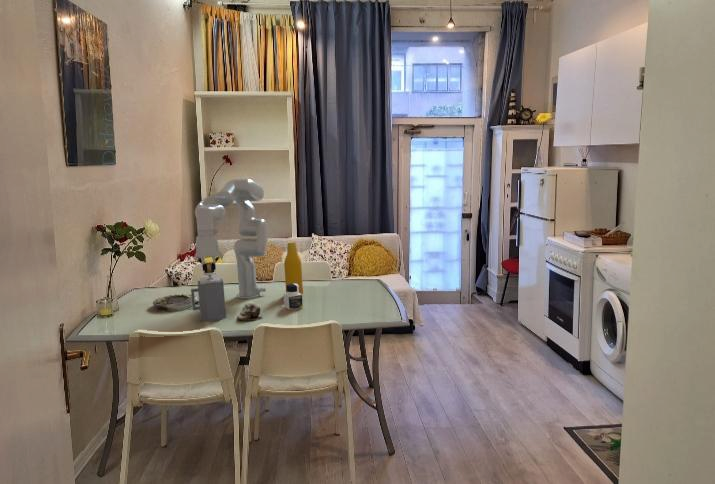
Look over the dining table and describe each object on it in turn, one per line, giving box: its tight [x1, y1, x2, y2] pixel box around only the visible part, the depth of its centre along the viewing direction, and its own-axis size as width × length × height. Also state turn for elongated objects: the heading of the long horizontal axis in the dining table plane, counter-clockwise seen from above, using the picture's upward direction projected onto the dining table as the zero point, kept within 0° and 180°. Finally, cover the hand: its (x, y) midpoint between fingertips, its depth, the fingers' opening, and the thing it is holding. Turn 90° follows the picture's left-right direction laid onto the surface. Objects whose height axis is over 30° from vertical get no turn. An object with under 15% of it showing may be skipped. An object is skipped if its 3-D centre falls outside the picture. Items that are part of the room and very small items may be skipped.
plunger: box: [203, 261, 217, 284], centre depth 260 cm, size 8×8×23 cm
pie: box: [152, 293, 200, 312], centre depth 286 cm, size 28×27×5 cm
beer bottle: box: [283, 241, 304, 295], centre depth 297 cm, size 9×9×29 cm
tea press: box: [190, 275, 227, 323], centre depth 261 cm, size 15×12×19 cm
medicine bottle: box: [283, 283, 304, 311], centre depth 274 cm, size 7×7×12 cm
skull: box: [236, 301, 262, 322], centre depth 261 cm, size 12×10×10 cm
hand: (209, 271), depth 259 cm, fingers closed on plunger, 3 cm apart
